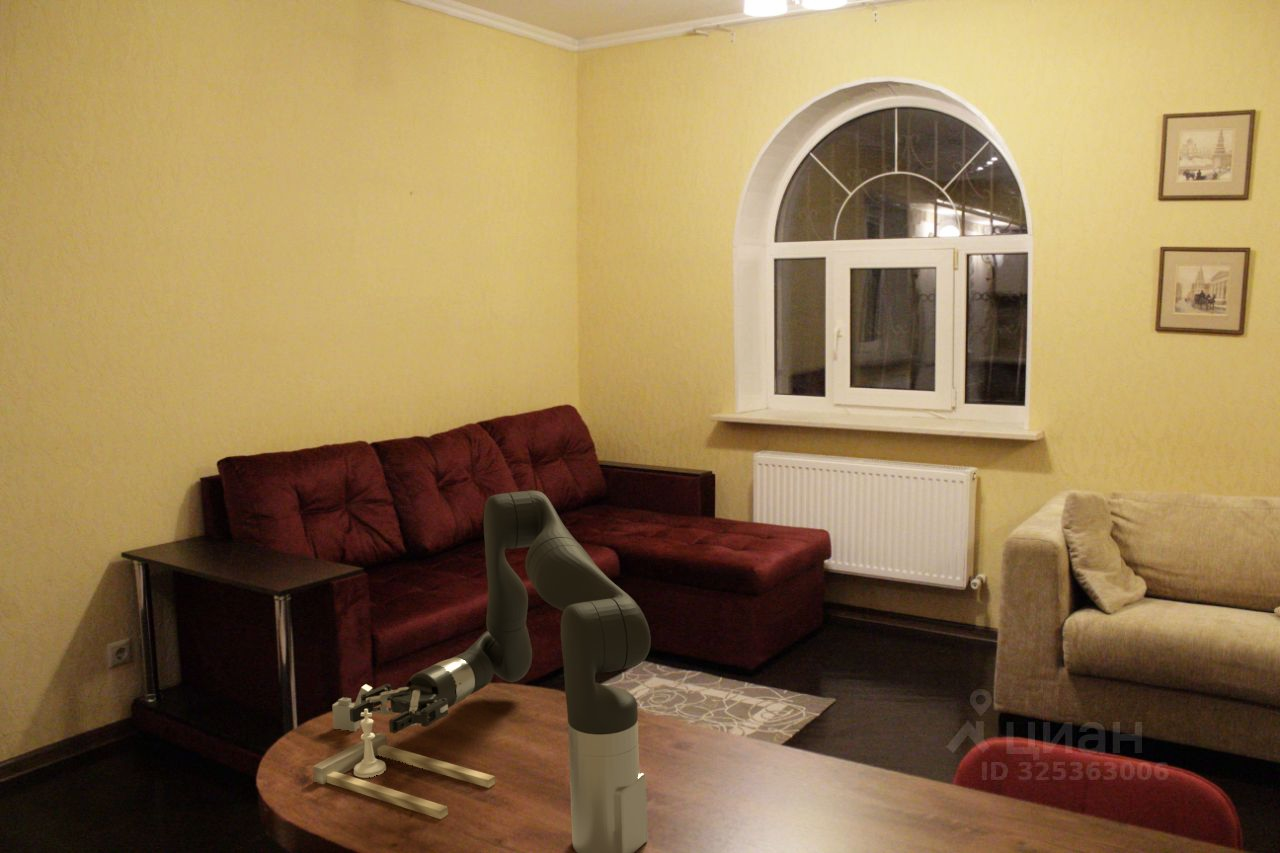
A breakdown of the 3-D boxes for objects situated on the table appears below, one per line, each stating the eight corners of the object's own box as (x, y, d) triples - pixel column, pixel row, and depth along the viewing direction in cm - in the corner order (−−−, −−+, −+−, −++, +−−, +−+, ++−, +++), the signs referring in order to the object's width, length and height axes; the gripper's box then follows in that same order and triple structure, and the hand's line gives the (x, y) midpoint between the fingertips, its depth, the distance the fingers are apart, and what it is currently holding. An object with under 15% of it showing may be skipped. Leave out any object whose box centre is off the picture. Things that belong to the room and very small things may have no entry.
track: (498, 781, 158) (497, 766, 158) (437, 821, 147) (436, 804, 147) (378, 747, 171) (377, 732, 171) (313, 781, 160) (312, 766, 160)
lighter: (333, 729, 179) (330, 684, 178) (339, 725, 181) (335, 680, 180) (370, 733, 177) (367, 687, 176) (375, 729, 179) (372, 684, 178)
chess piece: (377, 779, 160) (373, 716, 159) (347, 776, 161) (343, 714, 160) (391, 764, 165) (387, 703, 164) (362, 762, 166) (358, 702, 165)
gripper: (409, 657, 180) (336, 690, 166) (473, 671, 173) (403, 707, 159) (411, 699, 181) (340, 735, 167) (475, 715, 174) (406, 754, 160)
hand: (371, 721), depth 163 cm, fingers open, 8 cm apart
